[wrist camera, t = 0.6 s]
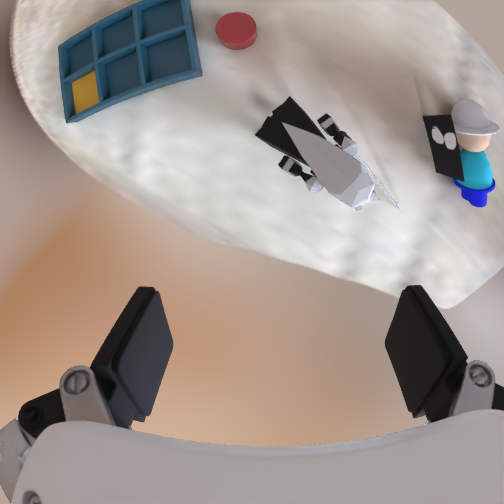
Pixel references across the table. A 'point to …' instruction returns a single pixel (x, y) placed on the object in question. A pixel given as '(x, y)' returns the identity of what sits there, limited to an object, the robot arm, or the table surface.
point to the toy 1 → (320, 155)
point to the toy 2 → (473, 143)
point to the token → (236, 30)
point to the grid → (127, 56)
